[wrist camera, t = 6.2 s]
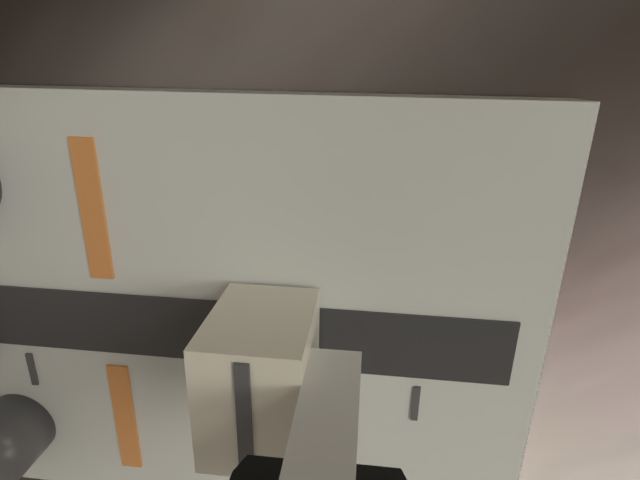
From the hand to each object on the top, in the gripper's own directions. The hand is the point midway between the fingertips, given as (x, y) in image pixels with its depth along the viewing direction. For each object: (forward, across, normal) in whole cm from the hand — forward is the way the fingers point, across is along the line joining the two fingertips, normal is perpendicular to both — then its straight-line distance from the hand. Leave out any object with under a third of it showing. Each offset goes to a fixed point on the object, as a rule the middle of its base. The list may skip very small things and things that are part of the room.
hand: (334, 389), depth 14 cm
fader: (+2, -2, 0) cm, 3 cm away
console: (+5, -4, 0) cm, 6 cm away
